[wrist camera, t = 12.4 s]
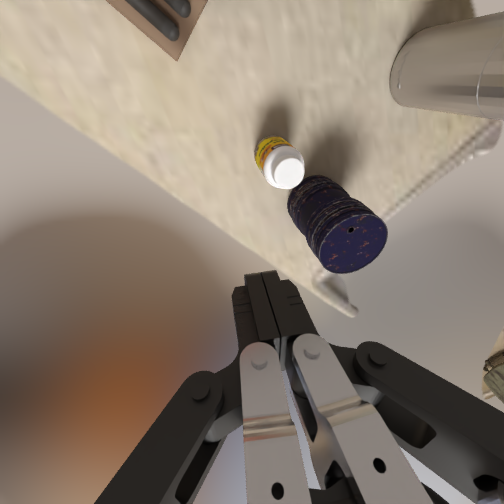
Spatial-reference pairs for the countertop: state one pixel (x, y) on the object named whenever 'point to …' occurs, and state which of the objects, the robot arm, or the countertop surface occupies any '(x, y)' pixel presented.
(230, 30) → the countertop surface
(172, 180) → the countertop surface
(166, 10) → the switch board
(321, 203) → the storage jar
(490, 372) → the tabletop clock
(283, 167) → the supplement bottle
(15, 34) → the countertop surface
